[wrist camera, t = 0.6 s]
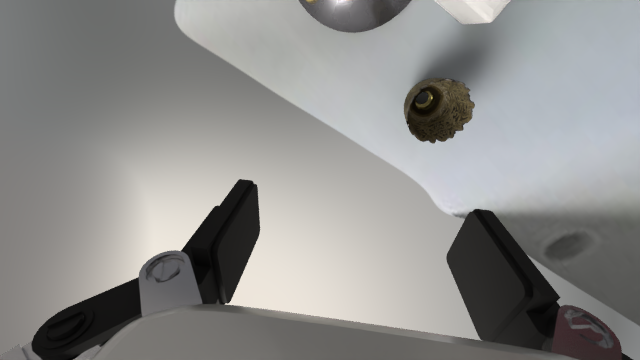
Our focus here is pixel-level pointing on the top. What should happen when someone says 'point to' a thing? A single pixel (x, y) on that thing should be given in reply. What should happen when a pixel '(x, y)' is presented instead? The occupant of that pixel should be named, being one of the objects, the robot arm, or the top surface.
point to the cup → (438, 109)
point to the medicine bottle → (473, 9)
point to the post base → (353, 13)
